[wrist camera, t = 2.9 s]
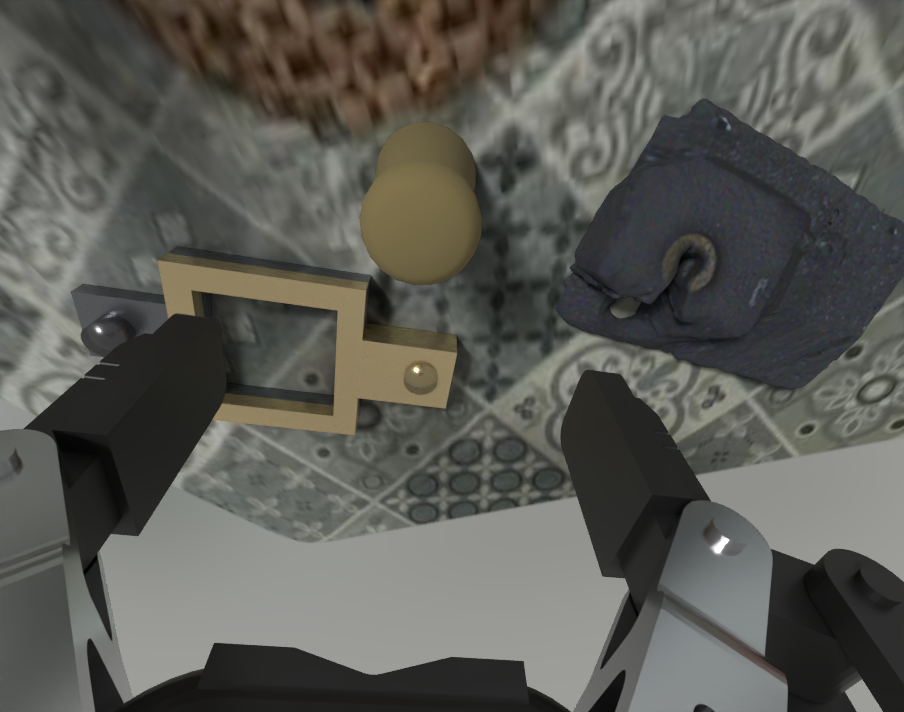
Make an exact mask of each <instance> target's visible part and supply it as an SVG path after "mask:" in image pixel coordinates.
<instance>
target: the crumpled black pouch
mask: <svg viewBox="0 0 904 712" xmlns="http://www.w3.org/2000/svg"><path fill="white" fill-rule="evenodd" d="M575 258H576V262H575V264H573V265H572V266H571V267H570V269H571V270H572V272H573V273H572V274H571V275H570V277H569V278H568V279H567V280H566V282H565V284H564V285H566V286H567V287H566V290H565V291H564V292H563V294H562V295H561V297H560V302H559V303H558V304H557V305H556V310H557V312H558V313H559V314H560V315H561V317H562V318H563V319H564V320H565V321H566V322H567V323H569V324H572V325H575V326H577V327H578V328H580V329H581V330H583V331H586V332H589V333H593V334H599V335H602V336H606V337H610V338H612V339H615V340H618V341H624V342H628V343H631V344H637V345H640V346H644V347H649V348H652V349H661V350H663V351H665V352H672V354H673V355H674V356H675V357H676V358H678V359H685V360H688V361H689V362H691V363H694V364H698V365H701V366H704V367H713V368H719V369H722V370H724V371H725V372H730V373H737V374H739V375H743V376H746V377H751V378H755V379H757V380H760V381H762V382H764V383H766V384H769V385H773V386H780V387H784V388H786V389H795V388H801V387H803V386H805V385H807V384H808V383H809V382H810V381H812V380H813V379H814V378H815V377H816V376H817V375H818V374H819V373H820V372H821V371H823V370H824V369H826V368H827V367H828V365H829V364H830V363H831V362H832V361H833V360H837V359H838V358H839V357H840V356H841V355H842V354H843V353H844V352H845V351H846V350H847V349H848V348H849V347H851V346H852V345H853V344H854V343H855V342H856V341H857V340H858V339H859V338H860V337H861V336H862V334H863V333H864V331H865V329H866V327H867V326H868V324H869V323H870V322H871V320H872V319H873V317H874V316H875V315H876V314H877V313H878V312H879V310H880V309H881V308H882V306H883V304H884V302H885V301H886V299H887V297H888V296H889V295H890V294H891V293H892V291H893V290H894V288H895V287H896V285H897V283H898V282H899V281H900V280H901V279H902V278H903V276H904V223H903V222H902V221H901V220H899V219H896V218H894V217H890V216H888V215H886V214H883V213H881V212H880V211H879V210H878V208H877V206H876V205H875V204H872V203H870V202H869V201H868V200H867V198H865V197H864V196H861V195H858V194H856V193H855V192H854V191H853V190H852V189H851V188H850V187H849V186H847V185H846V184H844V183H843V182H841V181H840V180H839V179H838V178H837V177H836V176H832V175H830V174H829V173H828V172H827V171H826V170H824V169H822V168H819V167H817V166H815V165H810V164H809V162H808V160H807V159H806V158H803V157H800V156H798V155H797V154H796V153H794V152H793V151H792V150H791V149H789V148H786V147H784V146H782V145H781V144H779V143H776V142H775V141H774V140H772V139H771V138H770V137H768V136H766V135H764V134H762V133H760V132H758V131H756V130H754V129H753V128H752V127H751V126H749V125H748V124H746V123H743V122H741V121H740V120H739V119H738V118H736V117H735V116H734V115H733V114H732V113H730V112H729V111H727V110H725V109H722V108H719V107H718V106H716V105H715V104H713V103H712V102H711V101H709V100H707V99H702V100H700V101H698V102H697V103H696V104H695V105H694V106H693V107H692V110H691V112H690V113H689V114H688V115H683V116H682V117H680V118H676V117H670V116H667V115H664V116H662V117H661V119H660V121H659V123H658V126H657V128H656V130H655V132H654V134H653V136H652V138H651V139H650V141H649V143H648V144H647V145H646V147H645V149H644V150H643V152H642V154H641V155H640V157H639V159H638V161H637V162H636V164H635V166H634V167H633V169H632V171H631V172H630V174H629V175H628V176H627V177H626V178H625V179H624V180H623V181H622V182H621V183H619V184H618V185H617V186H615V187H614V188H613V189H612V190H611V191H610V192H609V194H608V195H607V197H606V198H605V200H604V202H603V203H602V205H601V207H600V208H599V209H598V211H597V212H596V214H595V216H594V219H593V221H592V223H591V224H590V226H589V228H588V230H587V232H586V233H585V235H584V237H583V238H582V240H581V242H580V244H579V245H578V247H577V249H576V252H575ZM625 296H630V297H634V298H635V300H636V301H640V302H641V304H640V306H639V308H638V309H637V311H636V313H635V315H633V316H632V317H627V318H616V317H615V316H614V315H613V314H612V313H611V311H610V309H609V304H611V303H612V302H613V301H614V300H615V298H621V297H625Z"/></svg>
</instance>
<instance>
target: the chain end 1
mask: <svg viewBox="0 0 904 712" xmlns="http://www.w3.org/2000/svg"><path fill="white" fill-rule="evenodd" d="M168 253H170V254H177V255H183V256H190V257H197V258H204V259H211V260H217V261H224V262H231V263H238V264H245V265H251V266H258V267H265V268H272V269H279V270H285V271H292V272H299V273H306V274H312V275H319V276H326V277H333V278H340V279H346V280H353V281H360V282H367V283H369V284H368V296H367V309H366V321H365V328H366V325H367V317H368V304H369V292H370V280H371V275H365V274H358V273H351V272H345V271H338V270H331V269H325V268H318V267H311V266H304V265H298V264H291V263H284V262H278V261H271V260H264V259H258V258H251V257H244V256H237V255H231V254H224V253H217V252H211V251H204V250H197V249H190V248H184V247H175V248H174V249H173V250H171V251H170V252H168ZM71 294H72V297H73V300H74V304H75V307H76V310H77V313H78V317H79V320H80V323H81V326H82V332H81V339H82V342H83V343H84V345H85V346H86V347H87V348H88V349H89V352H90V356H98V357H105V356H107V355H108V354H109V353H110V352H111V351H112V350H113V349H114V348H116V347H117V346H118V345H120V344H122V343H124V342H126V341H129V340H131V339H133V338H135V337H137V336H139V335H142V334H144V333H147V334H153V333H154V332H155V331H156V330H157V329H158V328H159V327H160V326H161V325H162V324H163V323H164V322H166V321H167V320H168V314H167V309H166V303H165V298H164V295H159V294H152V293H145V292H137V291H130V290H123V289H116V288H108V287H101V286H94V285H86V284H82V285H81V286H79V287H77V288H76V289H74V290H73V291H71ZM201 296H202V303H203V310H204V317H209V318H213V314H212V306H211V298H210V293H208V292H201ZM225 393H229V394H238V395H246V396H255V397H263V398H272V399H281V400H289V401H298V402H307V403H315V404H324V405H333V406H334V396H332V395H324V394H316V393H307V392H299V391H290V390H282V389H273V388H265V387H256V386H248V385H239V384H231V383H226V392H225ZM360 402H361V398H359V409H358V419H359V415H360ZM357 424H358V422H357Z"/></svg>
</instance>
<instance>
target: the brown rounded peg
mask: <svg viewBox="0 0 904 712" xmlns="http://www.w3.org/2000/svg"><path fill="white" fill-rule="evenodd" d="M475 187H476V167H475V163H474V160H473V156H472V153H471V151H470V150H469V148H468V147H467V145H466V144H465V142H464V140H463V139H462V138H461V137H460V136H458V135H457V134H456V133H455V132H453V131H452V130H451V129H450V128H448V127H445V126H442V125H439V124H437V123H434V122H416V123H413V124H410V125H408V126H405V127H402V128H400V129H399V130H398V131H397V132H395V133H394V134H393V135H392V136H391V137H389V138H388V140H387V141H386V143H385V145H384V146H383V148H382V150H381V151H380V153H379V157H378V162H377V166H376V179H375V181H374V182H373V184H372V186H371V187H370V189H369V191H368V192H367V194H366V195H365V197H364V199H363V204H362V209H361V213H360V226H361V236H362V239H363V242H364V244H365V246H366V248H367V251H368V253H369V255H370V257H371V258H372V260H373V261H374V262H375V263H376V264H377V265H378V267H379V268H380V269H381V270H382V271H384V272H385V273H387V274H388V275H390V276H391V277H393V278H394V279H396V280H398V281H402V282H405V283H409V284H412V285H433V284H436V283H439V282H443V281H446V280H448V279H450V278H451V277H453V276H454V275H456V274H457V273H459V272H460V271H462V270H463V268H464V267H465V266H466V265H467V263H468V262H469V261H470V260H471V258H472V257H473V255H474V254H475V251H476V249H477V246H478V243H479V240H480V238H481V228H482V215H481V212H480V208H479V205H478V201H477V198H476V195H475V193H474V190H475Z"/></svg>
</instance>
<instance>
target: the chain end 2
mask: <svg viewBox="0 0 904 712" xmlns="http://www.w3.org/2000/svg"><path fill="white" fill-rule="evenodd" d="M157 261H158V266H159V271H160V277H161V282H162V287H163V293H164V298H165V303H166V309H167V314H168V319H169V318H170V317H171V316H172V315H173V314H176V313H179V314H187V315H194V316H201V317H204V310H203V303H202V296H201V292H208V293H215V294H222V295H229V296H237V297H244V298H251V299H258V300H265V301H272V302H280V303H287V304H294V305H301V306H308V307H315V308H323V309H330V310H337V311H338V316H337V340H336V365H335V389H334V406H333V405H324V404H315V403H307V402H298V401H289V400H281V399H272V398H263V397H255V396H246V395H238V394H229V393H225V396H224V399H223V402H222V404H221V406H220V408H219V410H218V411H217V413H216V415H215V416H214V418H213V419H212V420H220V421H229V422H238V423H247V424H256V425H265V426H275V427H284V428H293V429H302V430H311V431H320V432H330V433H339V434H348V435H355V433H356V428H357V422H358V409H359V398H361V399H369V400H378V401H386V402H395V403H403V404H412V405H420V406H428V407H437V408H446V404H447V399H448V394H449V390H450V385H451V380H452V376H453V371H454V366H455V362H456V357H457V340H456V335H451V334H443V333H436V332H429V331H422V330H414V329H407V328H400V327H392V326H385V325H378V324H371V323H367V325H366V328H365V321H366V309H367V296H368V284H369V283H367V282H360V281H353V280H346V279H340V278H333V277H326V276H319V275H312V274H306V273H299V272H292V271H285V270H279V269H272V268H265V267H258V266H251V265H245V264H238V263H231V262H224V261H217V260H211V259H204V258H197V257H190V256H183V255H177V254H170V253H167V254H166V255H164V256H163V257H161V258H160V259H159V260H157Z"/></svg>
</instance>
